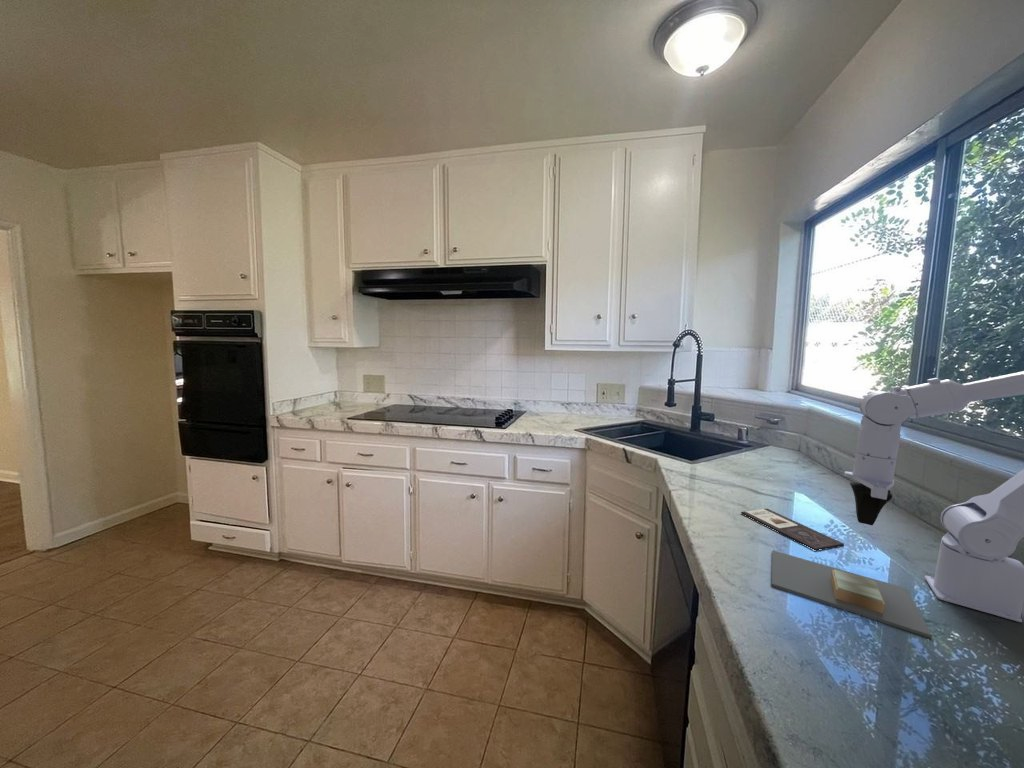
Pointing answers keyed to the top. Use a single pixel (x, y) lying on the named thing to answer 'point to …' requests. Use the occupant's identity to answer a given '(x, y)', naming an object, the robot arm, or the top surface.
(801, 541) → the chocolate bar
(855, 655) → the top surface
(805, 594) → the rubber mat
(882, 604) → the oak tile
